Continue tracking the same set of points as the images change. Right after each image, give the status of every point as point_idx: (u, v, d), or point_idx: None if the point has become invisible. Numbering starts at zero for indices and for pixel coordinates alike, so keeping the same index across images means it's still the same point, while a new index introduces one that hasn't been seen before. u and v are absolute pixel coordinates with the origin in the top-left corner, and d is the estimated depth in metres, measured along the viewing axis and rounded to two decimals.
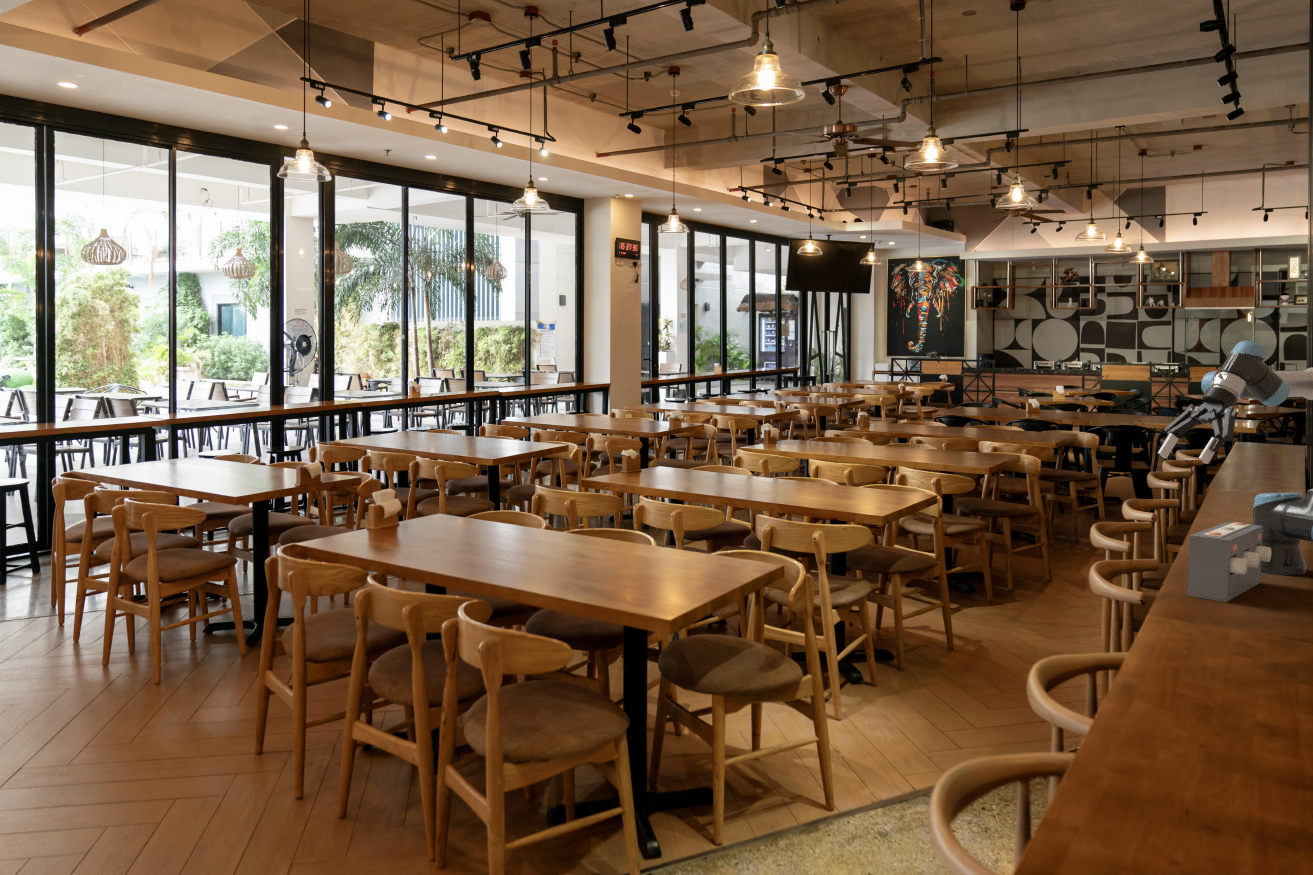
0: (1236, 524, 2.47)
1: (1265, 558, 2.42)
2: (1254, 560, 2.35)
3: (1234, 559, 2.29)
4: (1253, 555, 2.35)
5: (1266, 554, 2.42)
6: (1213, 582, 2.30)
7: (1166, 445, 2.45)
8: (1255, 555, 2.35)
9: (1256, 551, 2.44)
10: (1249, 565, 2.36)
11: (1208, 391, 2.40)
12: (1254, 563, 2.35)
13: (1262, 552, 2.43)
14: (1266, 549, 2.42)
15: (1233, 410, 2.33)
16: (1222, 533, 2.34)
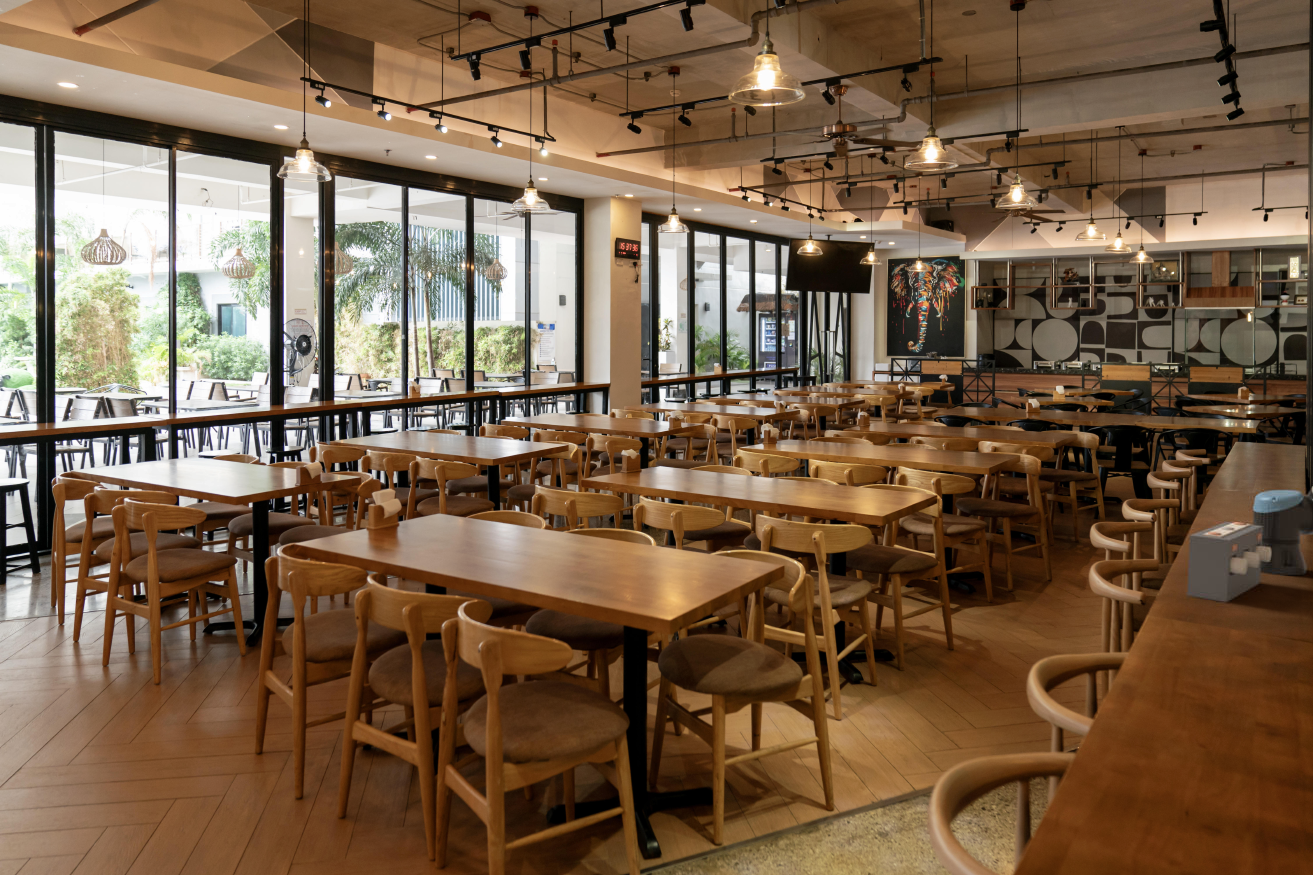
0: (1236, 524, 2.47)
1: (1265, 558, 2.42)
2: (1254, 560, 2.35)
3: (1234, 559, 2.29)
4: (1253, 555, 2.35)
5: (1266, 554, 2.42)
6: (1213, 582, 2.30)
7: None
8: (1255, 555, 2.35)
9: (1256, 551, 2.44)
10: (1249, 565, 2.36)
11: None
12: (1254, 563, 2.35)
13: (1262, 552, 2.43)
14: (1266, 549, 2.42)
15: None
16: (1222, 533, 2.34)
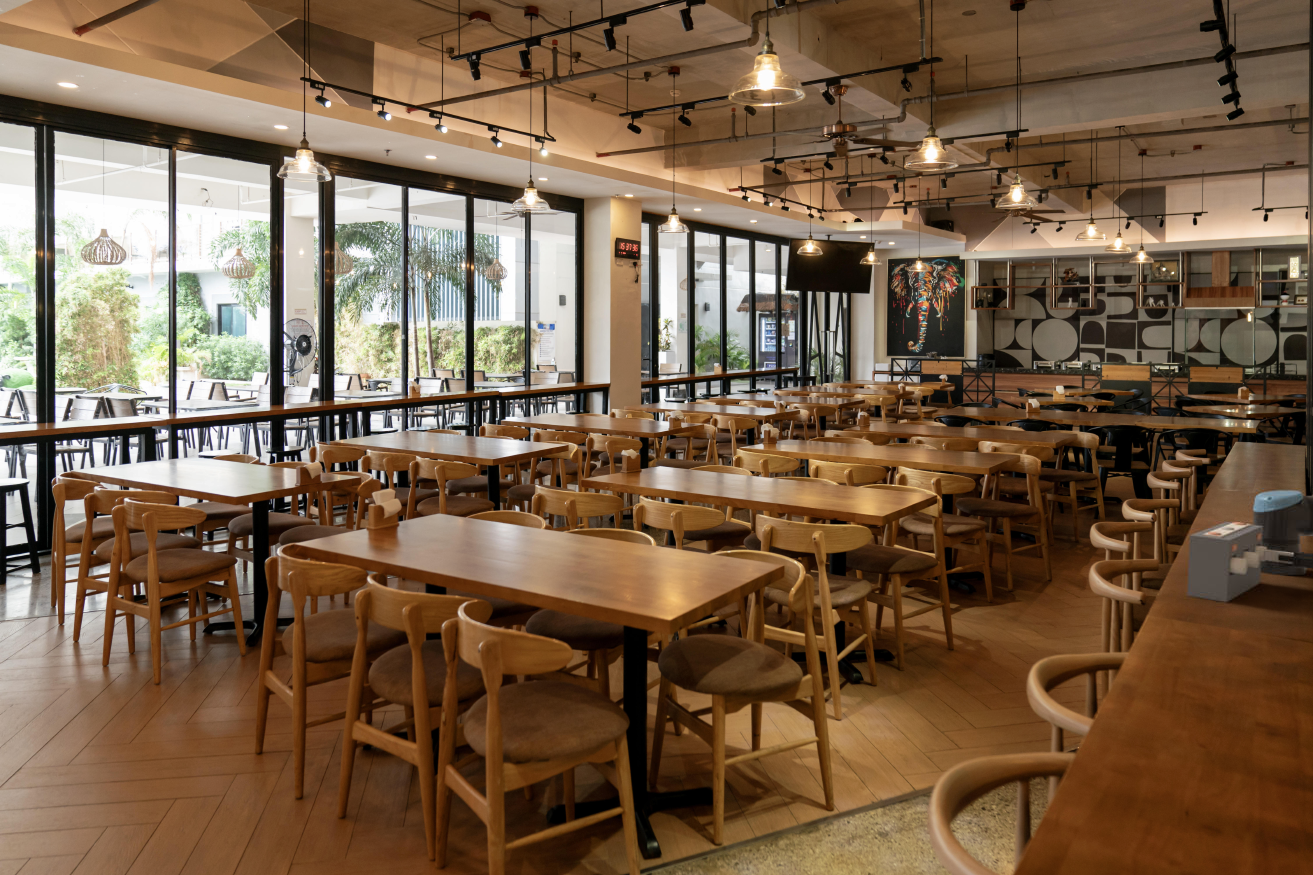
0: (1236, 524, 2.47)
1: (1261, 557, 2.43)
2: (1254, 560, 2.35)
3: (1234, 559, 2.29)
4: (1253, 555, 2.35)
5: (1262, 553, 2.43)
6: (1213, 582, 2.30)
7: None
8: (1255, 555, 2.35)
9: None
10: (1249, 565, 2.36)
11: None
12: (1254, 563, 2.35)
13: (1258, 551, 2.43)
14: (1262, 548, 2.43)
15: None
16: (1222, 533, 2.34)
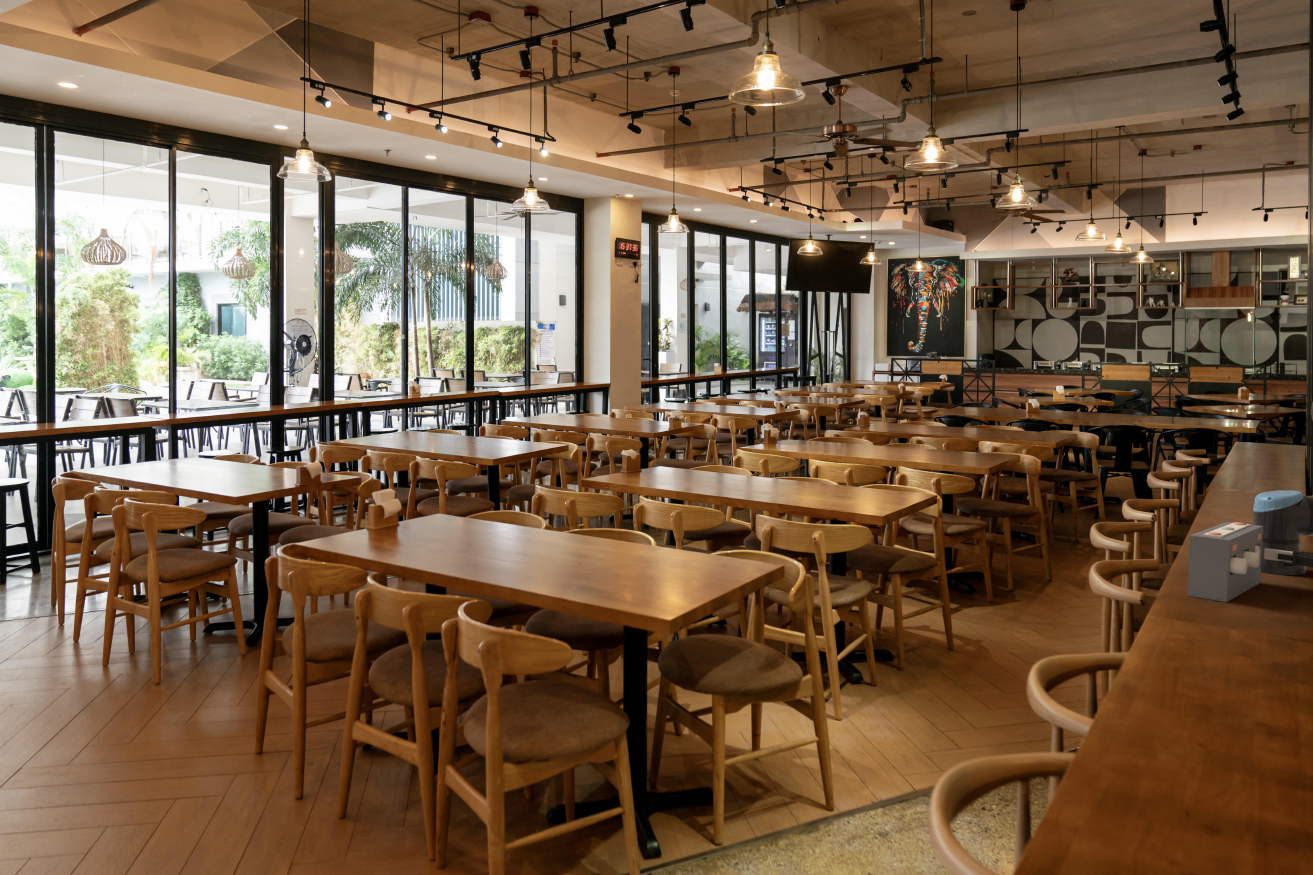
0: (1236, 524, 2.47)
1: None
2: (1254, 560, 2.35)
3: (1234, 559, 2.29)
4: (1253, 555, 2.35)
5: (1255, 552, 2.44)
6: (1213, 582, 2.30)
7: None
8: (1255, 555, 2.35)
9: None
10: (1249, 565, 2.36)
11: None
12: (1254, 563, 2.35)
13: None
14: (1255, 548, 2.44)
15: None
16: (1222, 533, 2.34)
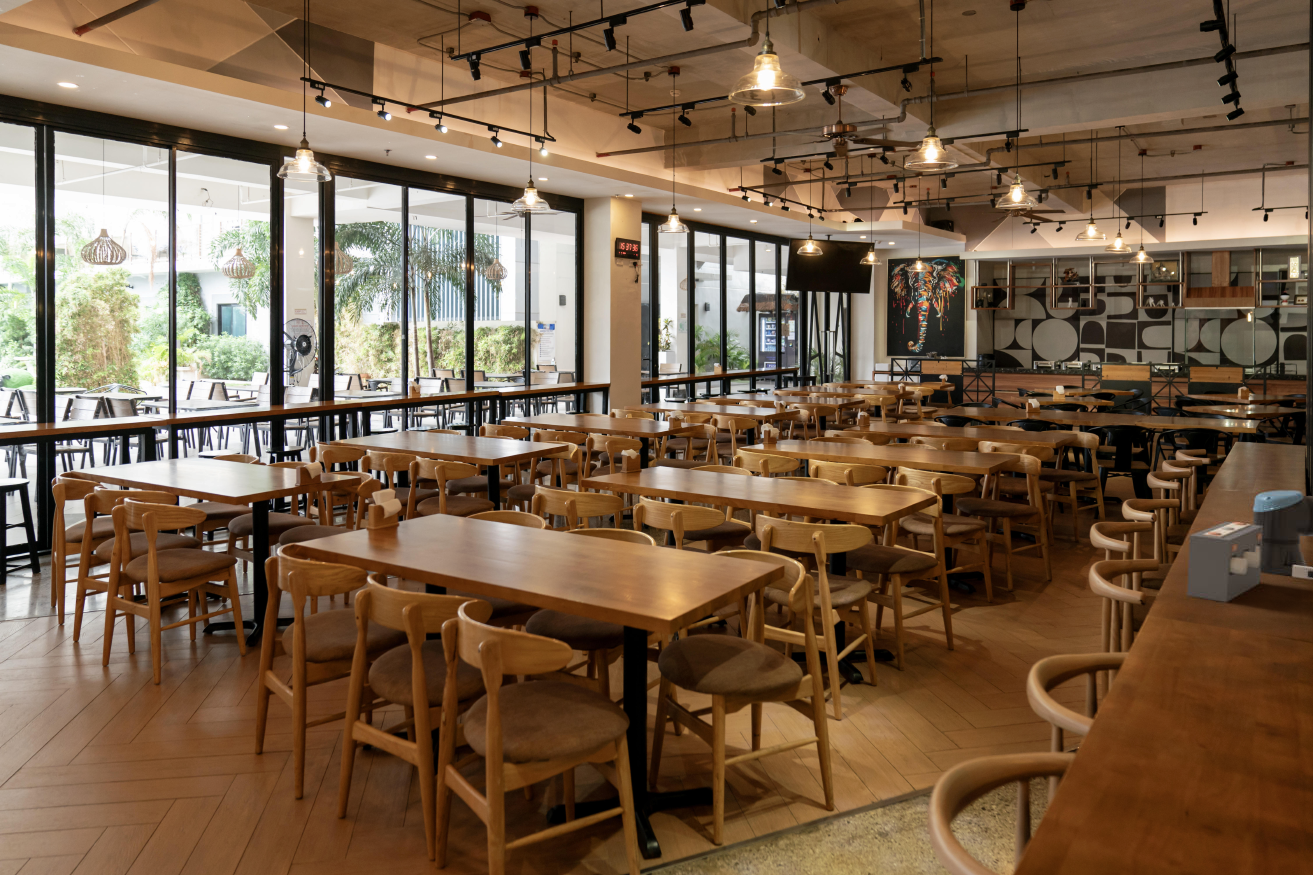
0: (1236, 524, 2.47)
1: None
2: (1254, 560, 2.35)
3: (1234, 559, 2.29)
4: (1253, 555, 2.35)
5: (1255, 552, 2.44)
6: (1213, 582, 2.30)
7: None
8: (1255, 555, 2.35)
9: None
10: (1249, 565, 2.36)
11: None
12: (1254, 563, 2.35)
13: None
14: (1255, 548, 2.44)
15: None
16: (1222, 533, 2.34)
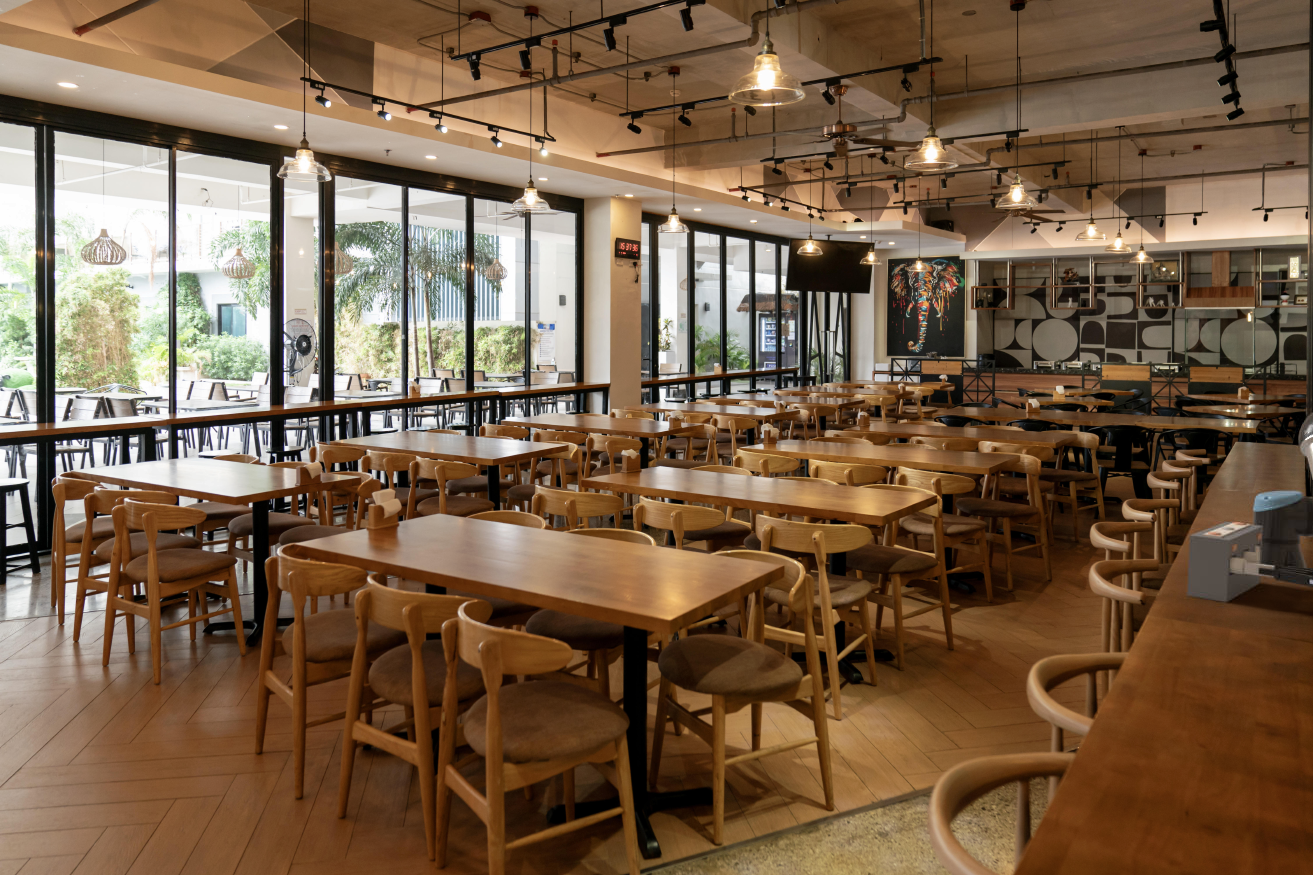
0: (1236, 524, 2.47)
1: None
2: (1254, 560, 2.35)
3: (1233, 559, 2.29)
4: (1253, 555, 2.35)
5: (1255, 552, 2.44)
6: (1213, 582, 2.30)
7: None
8: (1255, 555, 2.35)
9: None
10: None
11: None
12: None
13: None
14: (1255, 548, 2.44)
15: None
16: (1222, 533, 2.34)
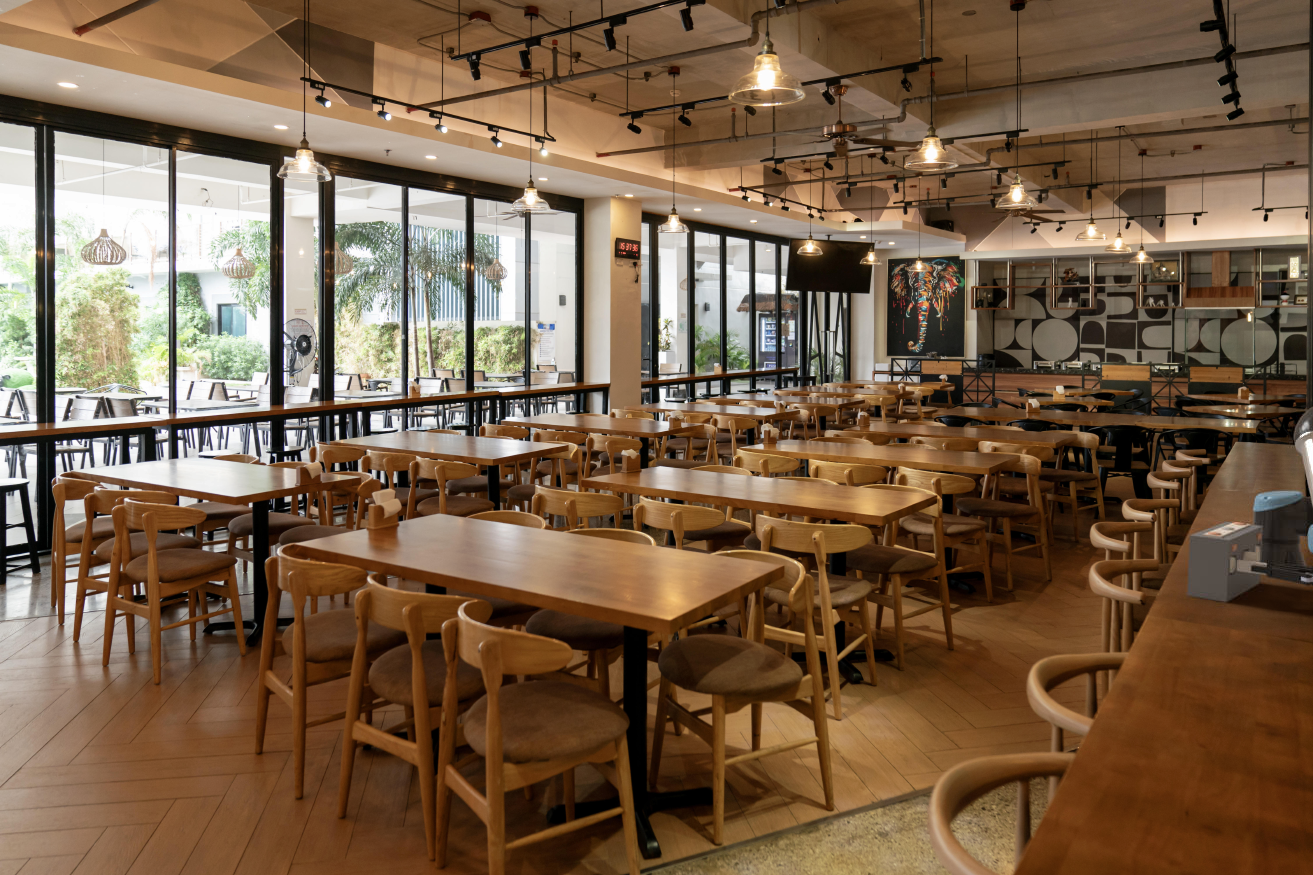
0: (1236, 524, 2.47)
1: None
2: (1254, 560, 2.35)
3: None
4: (1253, 555, 2.35)
5: (1255, 552, 2.44)
6: (1213, 582, 2.30)
7: None
8: (1255, 555, 2.35)
9: None
10: None
11: None
12: None
13: None
14: (1255, 548, 2.44)
15: None
16: (1222, 533, 2.34)
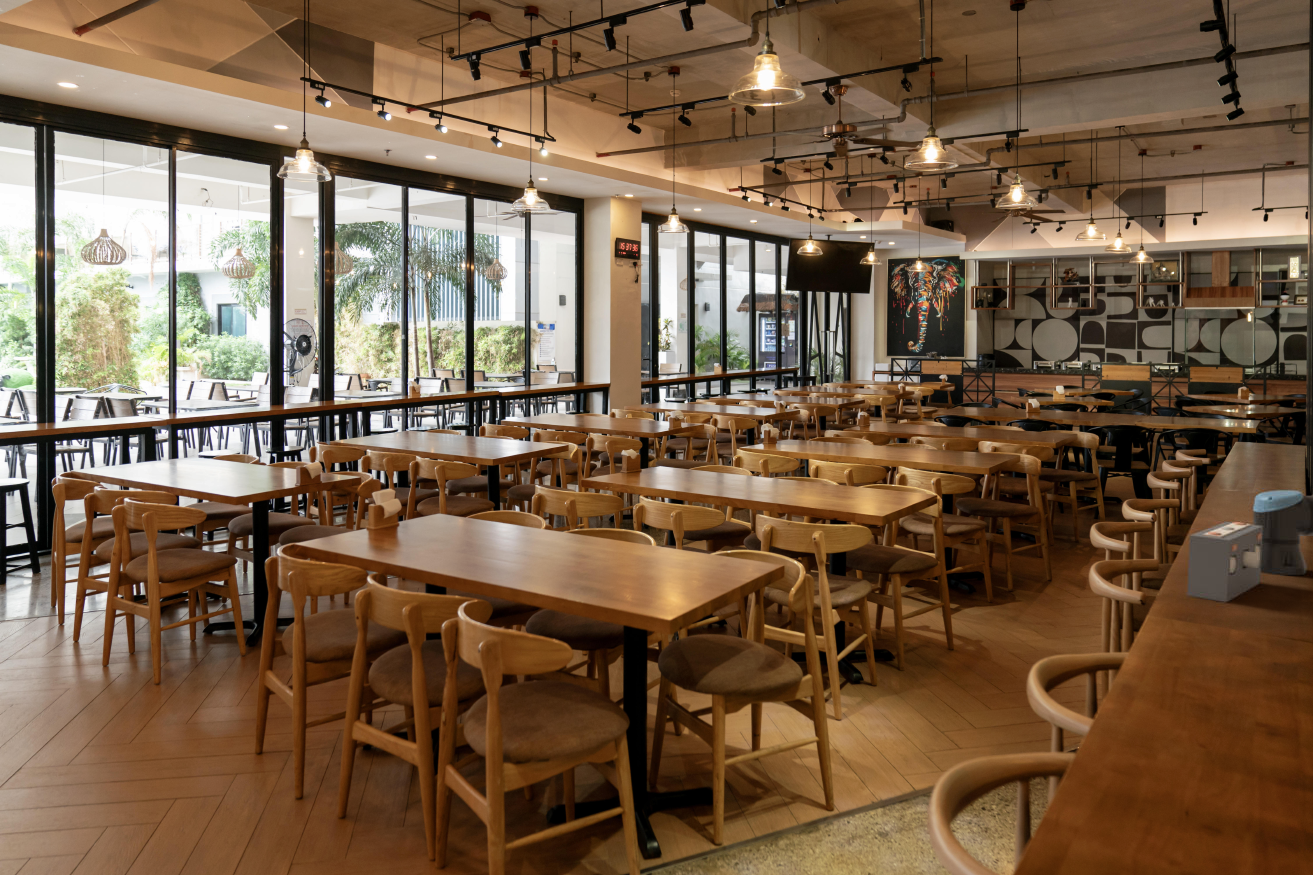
0: (1236, 524, 2.47)
1: None
2: (1254, 560, 2.35)
3: None
4: (1253, 555, 2.35)
5: (1255, 552, 2.44)
6: (1213, 582, 2.30)
7: None
8: (1255, 555, 2.35)
9: None
10: (1249, 565, 2.36)
11: None
12: (1254, 563, 2.35)
13: None
14: (1255, 548, 2.44)
15: None
16: (1222, 533, 2.34)
